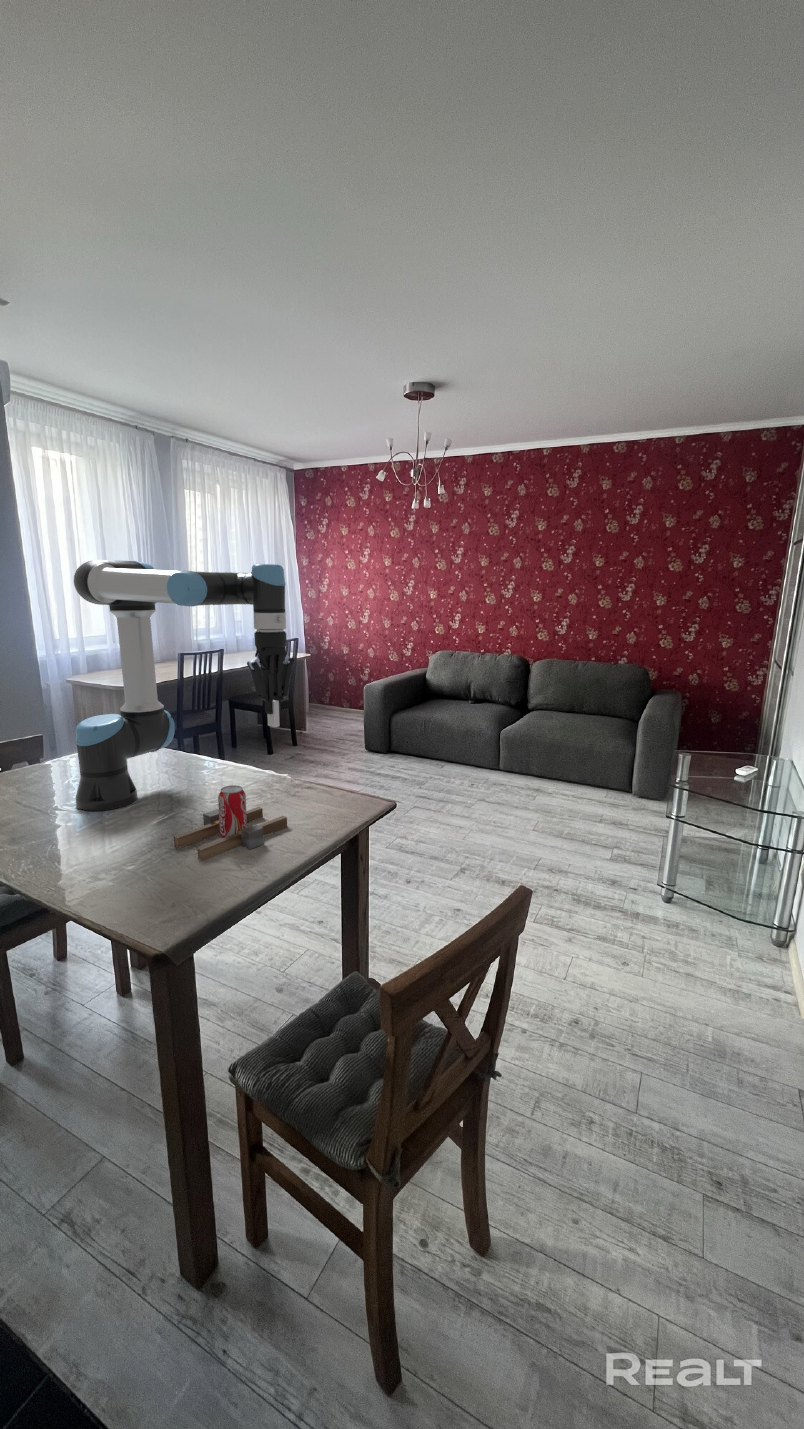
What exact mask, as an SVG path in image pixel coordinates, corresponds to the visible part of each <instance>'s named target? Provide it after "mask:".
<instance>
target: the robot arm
mask: <svg viewBox="0 0 804 1429" xmlns="http://www.w3.org/2000/svg"><path fill="white" fill-rule="evenodd" d="M73 585H74V587H75V590H76V592H77V594H78V595H79V596H80V597H81V598H82V599H84V600H85V601H86V602H88V603H92V604H95V605H99V606H109V612H110V613H111V614H113V616H115V617H116V623H117V624H116V625H117V635H118V644H119V653H120V655H119V656H120V662H121V663H120V664H121V673H122V684H123V693H124V694H123V695H124V704H123V705H122V706H121V707H120V708H119V712H120V714H117V713H105V714H101V715H99V714H98V715H95V716H90V717H88V718H86V719H83V720H81V721H80V722H78V724H77V725H76V727H75V740H74V741H75V743H76V750H77V758H78V767H79V768H78V769H79V775H80V778H79V782H78V787H77V790H76V795H75V805H76V807H78V808H77V809H78V810H82V809H83V810H82V811H87V812H88V811H91V812H100V811H108V810H115V809H118V808H123V807H125V806H127V805H131V804H132V803H134V802H135V801H136V800H137V798H138V790H137V788H136V785H135V784H134V782H133V779H132V777H131V775H130V773H129V770H128V759H131V758H136V757H139V756H142V755H145V754H149V753H155V752H157V751H159V750H161V749H165V748H166V747H168V745H170V743H171V742H172V741H173V739H174V735H175V731H176V727H175V726H176V725H175V721H174V719H173V717H172V715H171V713H170V712H169V711H168V710H165V705H164V704H162V702H161V701H159V698H158V689H157V678H156V667H155V666H156V665H155V657H154V654H155V653H154V642H153V633H152V623H151V616H152V615H153V614H154V613H155V612H156V604H157V603H163V604H175V605H177V606H181V607H182V606H184V607H196V606H224V605H225V606H226V605H251V606H252V610H253V612H252V613H253V629H254V630H255V631H254V634H253V635H254V646H255V649H256V651H255V654H254V658H253V659H252V660H251V661H250V660H247V662H246V665H247V668H248V669H249V670H250V672H251V673H250V674H251V676H252V681H253V685H254V689H255V692H256V697H257V699H259V700H262V701H264V712H265V714H267V715H266V716H267V726H268V727H272V728H278V727H280V726H281V725H280V713H281V711H282V702H281V701H283V700H284V699H285V698H284V697H287V696H288V693H289V687H290V679H291V674H292V673H291V672H292V667H293V665H294V662H295V657H291V656H289V655H287V650H286V646H287V644H288V643H287V641H288V640H287V632H286V631H285V630H286V629H287V618H286V616H287V615H286V614H287V613H286V579H285V569H284V567H283V566H282V565H281V564H275V563H273V564H272V563H267V564H265V563H259V564H258V563H255V564H252V566H251V571H250V572H232V571H231V572H228V571H225V572H224V571H223V572H221V571H220V572H216V571H215V572H214V571H211V572H209V571H193V570H165V569H155V568H154V566H153V565H151V564H149V563H147V562H144V561H137V560H113V559H112V560H111V559H110V560H109V559H93V560H88V561H86V562H83V563H82V564H81V565H79V566H78V567H77V569H76V571H75V573H74V575H73Z"/></svg>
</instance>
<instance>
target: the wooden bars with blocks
mask: <svg viewBox="0 0 804 1429" xmlns="http://www.w3.org/2000/svg"><path fill="white" fill-rule="evenodd" d="M263 812H264V810H263V807H260V806H257V807H254V808H251V809H248V810H246V818H247V824H249V823H251V822H254V821H257V820H259V819H262V818H263V817H264V814H263ZM202 818H203V819H202V820H203V826H200V827H195V828H194V829H191V830H189V831H186V832H182V833H180V834H179V833H178V834H177V835H174V836H173V845H174V846H173V847H174V848H176V849H180V848H183V847H186V846H188V845H191V844H193V843H196V842H199V841H202V840H205V839H207V838H210V837H213V836H216V835H218V834H219V835H220V826H219V808H217V809H213V810H210V811H207V812H205V813H202ZM287 827H288V817H287V816H284V815H281V816H279V817H276V818H274V819H270V820H268V821H266V822H263V823H259V824H252V825H249V826H247V828H244V829H241V830H240V831H238V832H237V833H236V834H233V835H231V836H228V837H225V838H220V839H218V840H215V841H213V842H209V843H207V844H205V845H202V846H199V847H197V849H196V850H197V859H198V860H200V861H205V860H207V859H209V858H212V857H214V856H217V855H220V854H222V853H225V852H227V851H230V850H232V849H235V848H237V847H240V846H241V847H243V848H245V849H248V850H253V849H254V848H257V847H259V846H262V845H265V844H264V843H265V838H264V837H265V836H267V835H269V834H272V833H275V832H277V831H279V830H283V829H285V828H287Z"/></svg>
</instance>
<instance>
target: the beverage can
mask: <svg viewBox="0 0 804 1429" xmlns="http://www.w3.org/2000/svg"><path fill="white" fill-rule="evenodd" d="M217 801H218V802H217V804H218V806H217V807H218V810H219V826H220V833H219V836H220V837H221V839H223V838H225V837H228V836H231V835H233V834H236V833H237V832H238V831H240V830H241V829H244V828H247V827H248V823H247V818H246V811H247V796H246V792H245V791H244V788H243V787H242V786H240V785H237V784H236V785H235V784H234V785H233V784H232V785H227V786H226V785H225V786H223V787H221V788H220V791H219V793H218V796H217Z"/></svg>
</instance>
